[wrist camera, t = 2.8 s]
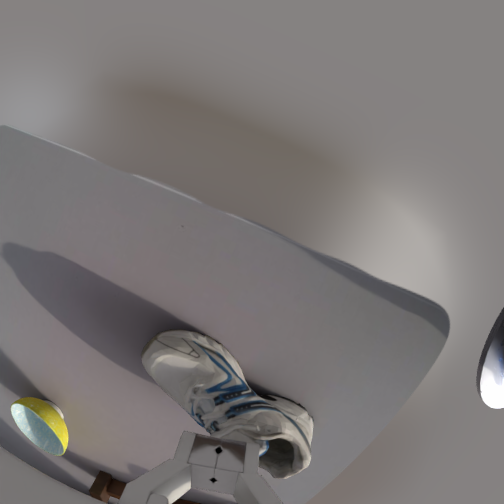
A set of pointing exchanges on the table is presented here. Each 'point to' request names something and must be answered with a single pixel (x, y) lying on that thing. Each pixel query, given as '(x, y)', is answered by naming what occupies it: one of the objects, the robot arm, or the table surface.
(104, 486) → the wooden rail
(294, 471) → the athletic shoe
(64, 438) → the bowl
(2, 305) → the table surface
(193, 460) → the robot arm
